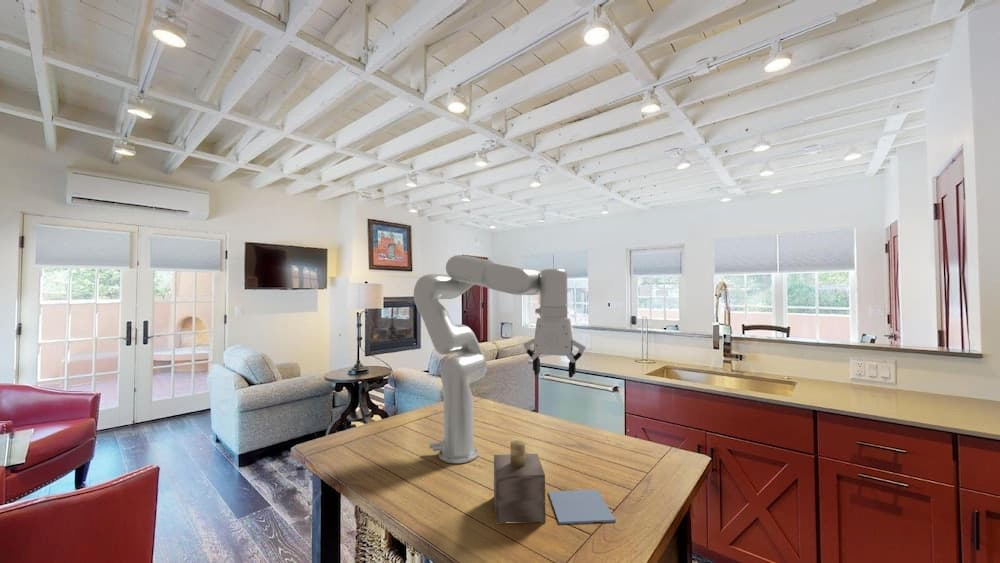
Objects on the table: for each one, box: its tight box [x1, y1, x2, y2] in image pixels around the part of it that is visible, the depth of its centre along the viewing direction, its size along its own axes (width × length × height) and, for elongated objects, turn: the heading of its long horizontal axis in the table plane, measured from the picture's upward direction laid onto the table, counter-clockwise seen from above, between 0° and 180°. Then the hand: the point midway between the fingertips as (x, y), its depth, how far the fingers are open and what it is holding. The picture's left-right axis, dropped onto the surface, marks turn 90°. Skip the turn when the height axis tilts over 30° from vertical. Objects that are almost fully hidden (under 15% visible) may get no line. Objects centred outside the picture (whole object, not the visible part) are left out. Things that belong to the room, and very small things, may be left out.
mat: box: [547, 489, 616, 525], centre depth 91 cm, size 13×13×1 cm
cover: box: [493, 440, 546, 524], centre depth 90 cm, size 11×11×16 cm
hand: (553, 375), depth 104 cm, fingers open, 9 cm apart
